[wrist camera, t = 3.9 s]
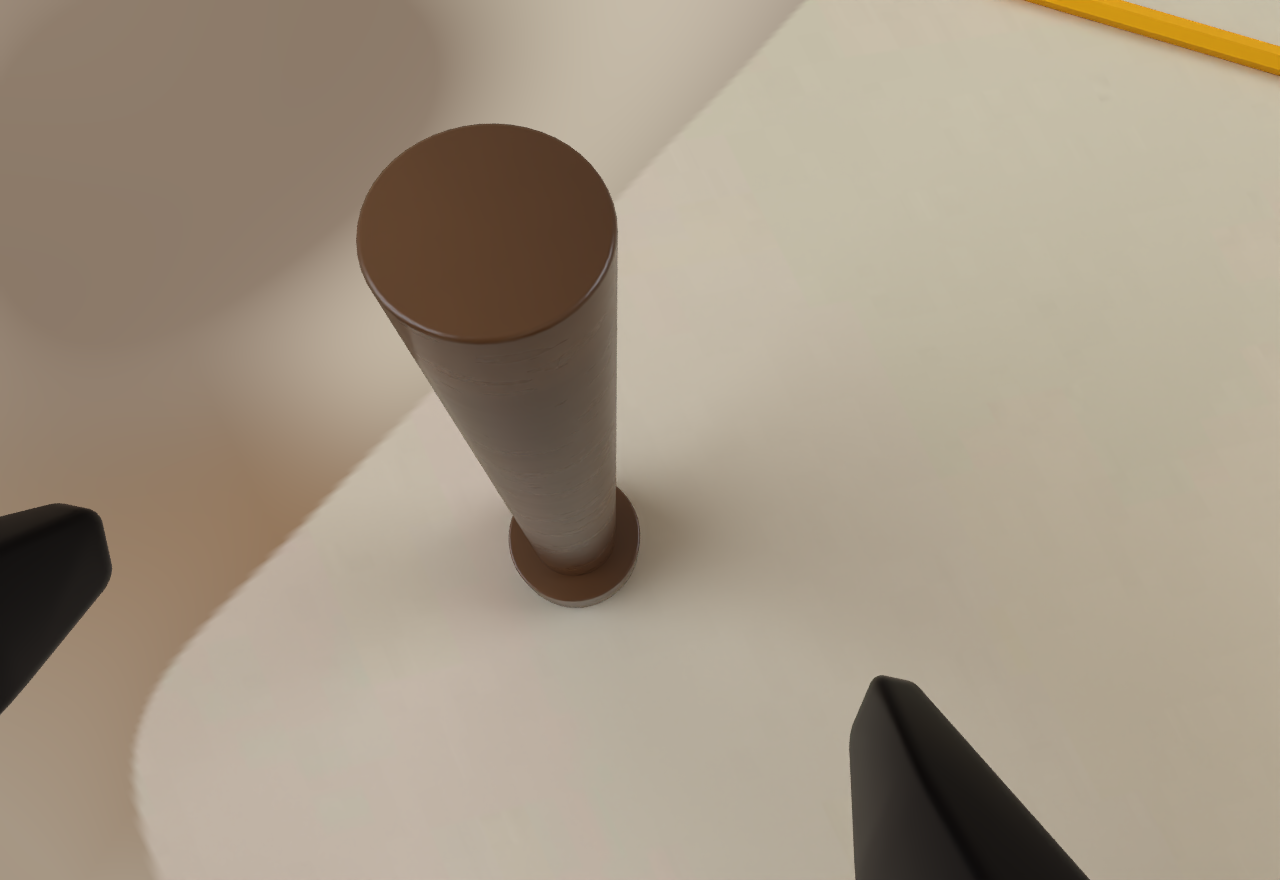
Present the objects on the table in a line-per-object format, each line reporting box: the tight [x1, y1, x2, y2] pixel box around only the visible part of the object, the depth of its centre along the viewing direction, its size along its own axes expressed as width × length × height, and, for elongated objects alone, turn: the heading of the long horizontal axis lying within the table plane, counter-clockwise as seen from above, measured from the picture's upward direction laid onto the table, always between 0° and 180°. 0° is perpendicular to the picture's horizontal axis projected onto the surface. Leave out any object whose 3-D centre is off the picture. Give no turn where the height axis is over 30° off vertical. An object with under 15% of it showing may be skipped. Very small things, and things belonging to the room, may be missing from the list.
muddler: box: [356, 124, 640, 608], centre depth 12 cm, size 3×3×14 cm
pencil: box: [1025, 0, 1280, 76], centre depth 25 cm, size 1×18×1 cm, turn 70°
